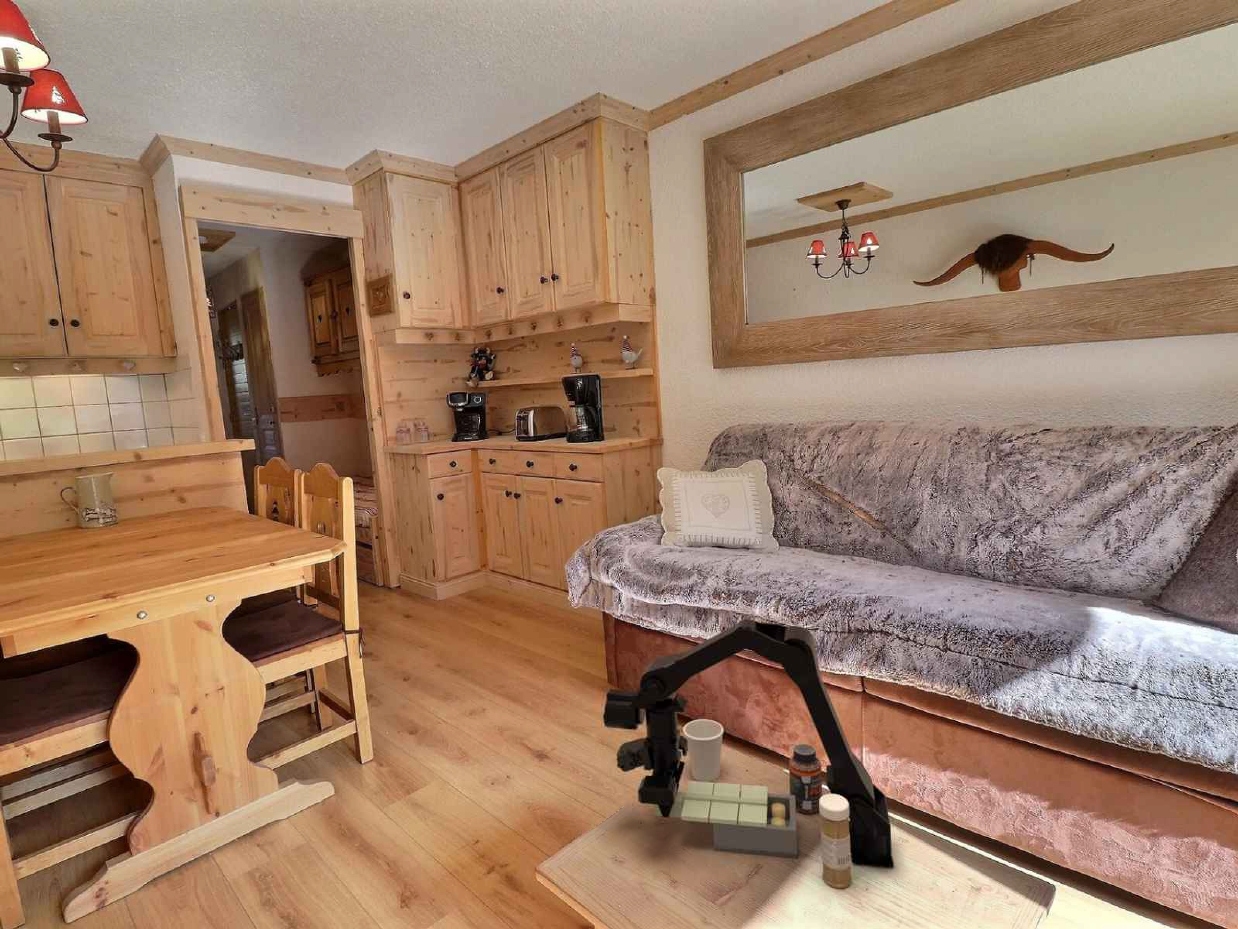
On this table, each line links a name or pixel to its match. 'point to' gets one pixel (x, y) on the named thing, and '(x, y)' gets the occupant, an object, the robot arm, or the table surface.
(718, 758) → the dixie cup
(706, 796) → the lid
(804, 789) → the supplement bottle
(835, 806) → the sprinkles bottle
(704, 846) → the table surface
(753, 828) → the tub
